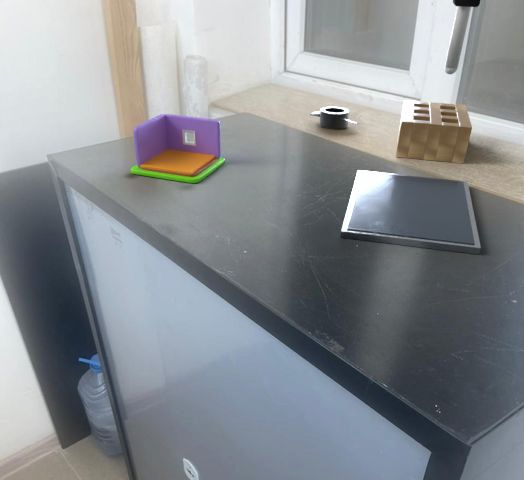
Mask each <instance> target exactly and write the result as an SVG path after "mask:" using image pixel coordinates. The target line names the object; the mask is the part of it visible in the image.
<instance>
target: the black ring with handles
mask: <svg viewBox="0 0 524 480" xmlns="http://www.w3.org/2000/svg"><path fill="white" fill-rule="evenodd" d="M349 115H350V110H349V109H348V108H346V107H341V106H324V107H322V108H320V110H319V111H318V110H317V111H313V112H311V113H310V115H309V116H314V117H318V118H319V122H318V125H319V127H321V128H323V129H328V130H344V129H347V128H348V125H349V124H350V123H351V124H354V125H359V123H358V122H356V121H352V120H350V119H349Z"/></svg>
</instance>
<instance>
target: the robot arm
mask: <svg viewBox="0 0 524 480" xmlns="http://www.w3.org/2000/svg"><path fill="white" fill-rule="evenodd" d="M452 4H453V5H454V6H455V7H457V6H462V7H471V8H477V7H479V6H480V4H481V0H452Z"/></svg>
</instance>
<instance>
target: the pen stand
mask: <svg viewBox="0 0 524 480" xmlns="http://www.w3.org/2000/svg"><path fill="white" fill-rule="evenodd" d="M472 130H473V126H472V122H471V118H470V116H469V112H468V109H467V105H466V104H456V103H444V102H443V103H442V102H432V101H431V102H430V101H418V100H405V99H404V100H403V102H402V109H401V114H400V121H399V127H398V132H397V142H396V150H395V158H404V159H412V160H413V159H414V160H424V161H433V162H435V161H436V162H443V163H444V162H445V163H456V164H464V163H465V158H466V154H467V151H468V146H469V142H470V138H471V134H472Z"/></svg>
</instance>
